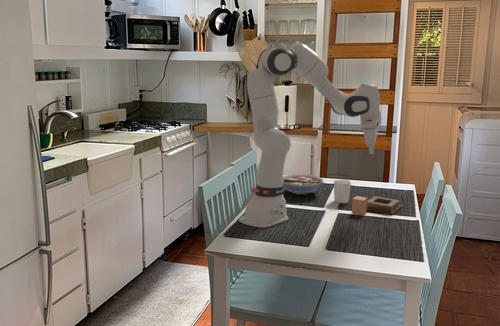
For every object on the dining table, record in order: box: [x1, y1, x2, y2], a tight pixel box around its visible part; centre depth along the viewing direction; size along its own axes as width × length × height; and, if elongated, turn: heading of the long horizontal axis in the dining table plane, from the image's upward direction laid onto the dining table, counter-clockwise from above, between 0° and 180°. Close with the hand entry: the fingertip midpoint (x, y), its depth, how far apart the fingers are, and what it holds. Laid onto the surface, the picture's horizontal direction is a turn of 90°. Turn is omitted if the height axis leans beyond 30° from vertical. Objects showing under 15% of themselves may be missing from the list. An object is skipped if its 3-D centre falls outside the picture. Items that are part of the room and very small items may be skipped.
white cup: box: [333, 179, 352, 204], centre depth 230 cm, size 8×8×10 cm
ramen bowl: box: [283, 173, 325, 196], centre depth 244 cm, size 25×23×8 cm
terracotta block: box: [351, 195, 369, 216], centre depth 213 cm, size 5×5×7 cm
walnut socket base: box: [367, 195, 403, 216], centre depth 221 cm, size 14×14×4 cm
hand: (372, 151), depth 213 cm, fingers open, 8 cm apart
